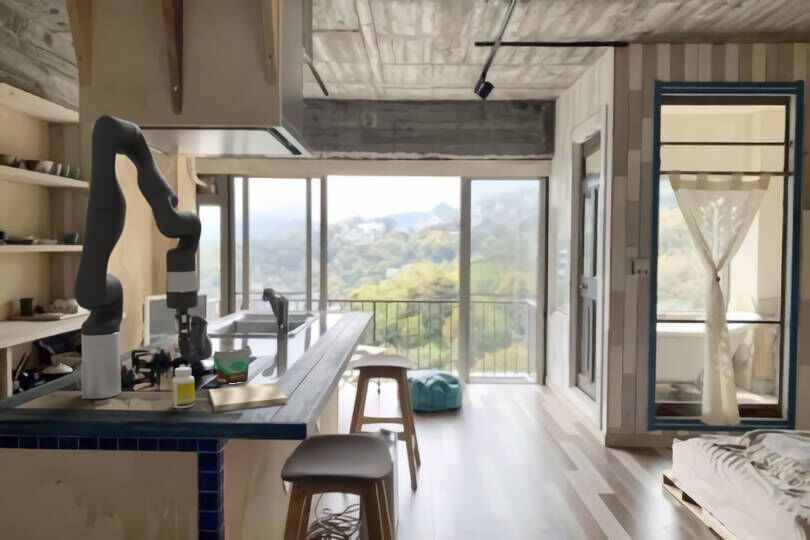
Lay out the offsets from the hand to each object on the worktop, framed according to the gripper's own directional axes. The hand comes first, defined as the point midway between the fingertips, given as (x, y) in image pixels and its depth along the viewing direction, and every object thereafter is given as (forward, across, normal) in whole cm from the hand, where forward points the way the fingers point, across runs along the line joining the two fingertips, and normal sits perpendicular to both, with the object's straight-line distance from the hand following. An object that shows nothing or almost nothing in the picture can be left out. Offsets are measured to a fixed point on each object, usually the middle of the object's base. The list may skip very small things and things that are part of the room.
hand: (183, 351), depth 144 cm
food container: (+14, -19, +16) cm, 29 cm away
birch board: (+14, 0, +16) cm, 21 cm away
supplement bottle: (+14, 0, 0) cm, 14 cm away
